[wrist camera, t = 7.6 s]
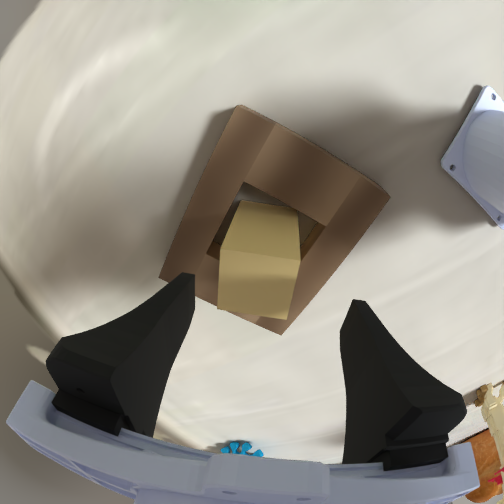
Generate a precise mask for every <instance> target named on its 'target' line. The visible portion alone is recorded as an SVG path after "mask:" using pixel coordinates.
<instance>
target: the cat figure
mask: <svg viewBox="0 0 504 504" xmlns="http://www.w3.org/2000/svg"><path fill="white" fill-rule="evenodd" d="M492 392H493V386H492V383H490V384H488V385H483V386H481V387H480V389H479V390H477V392H476V394H477V396H478V399H477V400H475V402H474V403H475V406H476V407H477V406H478V407H479V406H481V405H483V406H482V408H481V411H482V416H483V419H484V420H485V422H487V424H488V427H489V430H490V433H491V436H493V437H494V440H495V443H496V447H497V451H498V454H499V458H500V462H501V467H500V470H499V471H497V472H496V473H494V475H496V474H497V473H499V472H501V475H499V476H497V477H495V478H492V479H491V480H488V482H491V481H492V482H494V480H495V482H497V485H499V484H501V483H503V484H502V490H503V495H504V406H503V404H502V402H503V399H504V382H503V384H502V386H501V389H500V392H499V393H500V394H499V397H498V398H496V397H495V396H493V395H492ZM497 504H504V496H503V499H502V500H500V501H498V502H497Z"/></svg>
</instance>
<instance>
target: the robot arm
mask: <svg viewBox="0 0 504 504" xmlns="http://www.w3.org/2000/svg"><path fill="white" fill-rule="evenodd" d="M491 95H493V99H492V98H491ZM452 164H453V169H452V170H450V166H451V165H452ZM441 166H442V168H443V169H444V170H445V171H447V172H448V173H449V174H450V175H451V176H452V177H453V178H454V179H455V180H456V181H457V182H458V183H459V184H460V185H461V186H462V187H463V188H464V189H465V190H466V191H467V192H468V193H469V194H470V195H471V196H472V197H473V198H474V199H475V200H476V201H477V202H478V203H479V205H480V206H481V207H482V208H483V209H484V210H485V211H486V212H487V213H488V214H489V216H490V217H491V218H492V219H493V220H494V221H495V223H496V224H497V225H498V226H499V227H500V228H501V229H504V102H503V100H502V99H501V98H500V97H499V96H498V94H497V93H496V92H495V91H494V90H493V89H492V87H490V86H487V85H486V86H484V87H483V88H482V90H481V92H480V94H479V96H478V98H477V100H476V102H475V103H474V105H473V107H472V109H471V111H470V112H469V114H468V116H467V118H466V120H465V121H464V123H463V125H462V126H461V128H460V130H459V132H458V133H457V135H456V137H455V138H454V140H453V142H452V143H451V145H450V146H449V148H448V150H447V151H446V153H445V154H444V156H443V158H442V159H441ZM498 216H499V218H498ZM497 218H498V219H497ZM194 310H195V274H190V273H184V272H182V273H180V274H179V275H178V276H177V277H175V278H174V279H173V280H172V281H171V282H170V283H168V284H167V285H166V286H165V287H164V288H162V289H161V290H160V291H158V292H157V293H156V294H155V295H153V296H152V297H151V298H149V299H148V300H146V301H145V302H144V303H142V304H141V305H139V306H138V307H136V308H135V309H133V310H132V311H130V312H128V313H126V314H125V315H123V316H121V317H119V318H117V319H115V320H113V321H110V322H108V323H106V324H104V325H102V326H99V327H96V328H94V329H91V330H88V331H85V332H82V333H78V334H74V335H70V336H66V337H62V338H61V339H60V341H59V342H58V343H57V345H56V346H55V348H54V349H53V351H52V352H51V353H50V355H49V356H48V358H47V360H46V366H47V369H48V371H49V373H50V374H51V376H52V378H53V380H54V381H55V383H56V385H57V386H58V388H59V390H58V392H57V394H55V393H54V392H53V391H51V390H50V389H48V388H46V387H44V386H42V385H40V384H38V383H36V382H35V381H33V380H31V381H30V383H29V384H28V386H27V387H26V389H25V390H24V392H23V393H22V395H21V397H20V399H19V400H18V402H17V403H16V405H15V407H14V408H13V410H12V412H11V414H10V415H9V417H8V419H7V421H6V423H7V424H8V425H9V426H10V427H11V428H12V429H13V430H14V431H15V432H16V433H17V434H18V435H19V436H20V437H21V438H22V439H23V440H24V441H26V442H27V443H28V444H29V445H30V446H31V447H32V448H34V449H35V450H37V451H38V452H40V453H42V454H43V455H45V456H47V457H48V458H50V459H52V460H53V461H55V462H57V463H59V464H61V465H63V466H64V467H66V468H68V469H69V470H71V471H73V472H75V473H77V474H79V475H81V476H83V477H85V478H87V479H89V480H91V481H93V482H95V483H97V484H99V485H101V486H103V487H105V488H108V489H110V490H112V491H114V492H117V493H119V494H122V495H124V496H127V497H129V498H132V499H134V500H135V501H134V504H448V503H450V502H452V501H454V500H456V499H458V498H460V497H462V496H464V495H466V494H468V493H470V492H471V491H473V490H475V489H477V488H479V486H480V482H479V477H478V472H477V467H476V463H475V458H474V454H473V450H472V446H471V442H466V443H462V444H457V445H453V446H450V447H448V448H447V447H446V442H448V441H449V437H448V433H449V432H450V431H451V430H452V429H454V428H455V427H456V426H457V425H458V424H459V423H460V422H461V421H462V420H463V419H464V417H465V416H466V414H467V409H466V406H465V403H464V400H463V397H462V394H460V393H458V392H456V391H455V390H453V389H451V388H450V387H448V386H446V385H445V384H443V383H442V382H440V381H439V380H437V379H436V378H435V377H433V376H432V375H431V374H429V373H428V372H427V371H426V370H425V369H423V368H422V367H421V366H420V365H419V364H418V363H417V362H415V361H414V360H413V359H412V358H411V357H410V356H409V355H408V354H407V353H406V352H405V350H404V349H403V348H402V347H401V346H400V345H399V344H398V343H397V341H396V340H395V339H394V338H393V337H392V335H391V334H390V333H389V332H388V330H387V329H386V328H385V327H384V325H383V324H382V323H381V321H380V320H379V319H378V317H377V316H376V314H375V313H374V312H373V310H372V309H371V308H370V306H369V305H368V304H367V303H366V301H362V300H355V299H353V300H352V303H351V305H350V308H349V310H348V313H347V315H346V318H345V320H344V322H343V325H342V327H341V330H340V352H341V359H342V366H343V373H344V380H345V388H346V433H345V445H344V454H343V461H342V464H323V463H321V462H313V461H302V460H286V459H275V458H265V457H257V456H249V455H242V454H231V453H222V454H217V453H212V452H207V451H202V450H198V449H193V448H189V447H185V446H181V445H177V444H173V443H169V442H165V441H162V440H158V439H155V438H153V434H154V429H155V425H156V420H157V416H158V412H159V408H160V404H161V401H162V397H163V393H164V390H165V386H166V383H167V380H168V377H169V373H170V370H171V368H172V365H173V363H174V361H175V358H176V356H177V354H178V352H179V349H180V347H181V345H182V343H183V340H184V338H185V336H186V334H187V332H188V329H189V327H190V324H191V321H192V317H193V314H194Z"/></svg>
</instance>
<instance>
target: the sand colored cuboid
mask: <svg viewBox="0 0 504 504" xmlns="http://www.w3.org/2000/svg"><path fill="white" fill-rule="evenodd" d="M300 261H301V259H300V242H299V226H298V212H297V210H296V209H294V208H290V207H284V206H277V205H271V204H264V203H257V202H250V201H242V200H241V201H240V203H239V206H238V208H237V210H236V213H235V215H234V217H233V220H232V222H231V225H230V227H229V229H228V232H227V234H226V236H225V239H224V241H223V244H222V246H221V249H220V265H219V282H218V302H217V309H220V310H226V311H232V312H238V313H244V314H251V315H257V316H264V317H271V318H278V319H285V320H287V316H288V312H289V308H290V304H291V300H292V295H293V291H294V287H295V283H296V279H297V274H298V270H299V265H300Z"/></svg>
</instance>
